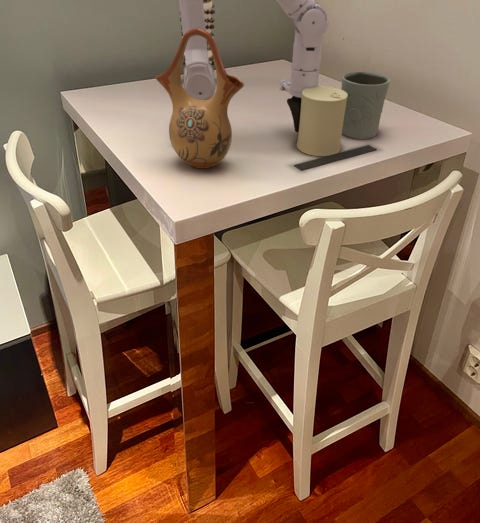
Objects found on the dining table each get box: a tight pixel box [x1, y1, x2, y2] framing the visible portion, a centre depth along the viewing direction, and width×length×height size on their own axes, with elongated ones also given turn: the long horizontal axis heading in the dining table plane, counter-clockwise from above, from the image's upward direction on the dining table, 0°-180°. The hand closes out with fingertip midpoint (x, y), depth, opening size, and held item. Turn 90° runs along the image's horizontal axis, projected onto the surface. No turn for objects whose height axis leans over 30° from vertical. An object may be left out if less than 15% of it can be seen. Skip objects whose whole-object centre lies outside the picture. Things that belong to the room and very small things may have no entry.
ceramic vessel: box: [154, 28, 245, 169], centre depth 94 cm, size 16×9×25 cm, turn 76°
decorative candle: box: [179, 0, 216, 78], centre depth 138 cm, size 9×9×25 cm
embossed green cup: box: [340, 71, 391, 140], centre depth 114 cm, size 10×10×12 cm
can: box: [296, 85, 348, 157], centre depth 106 cm, size 9×9×12 cm
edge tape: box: [293, 144, 378, 171], centre depth 106 cm, size 20×2×1 cm, turn 122°
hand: (299, 131), depth 114 cm, fingers closed
